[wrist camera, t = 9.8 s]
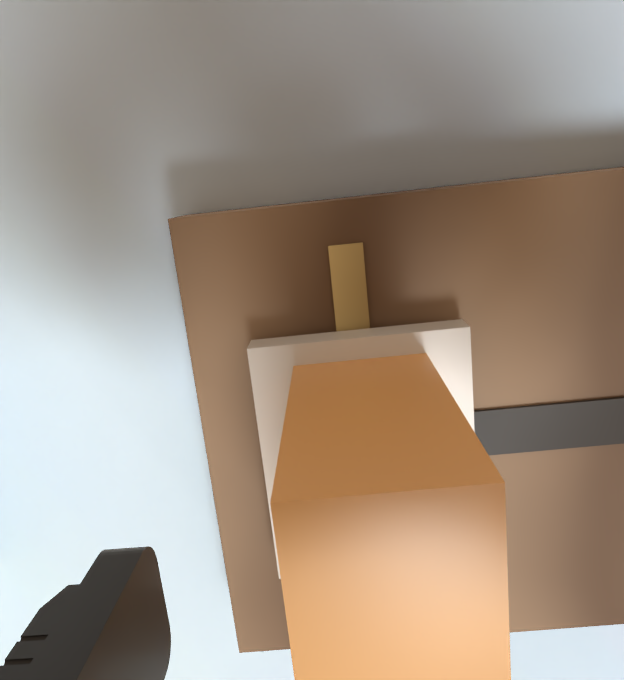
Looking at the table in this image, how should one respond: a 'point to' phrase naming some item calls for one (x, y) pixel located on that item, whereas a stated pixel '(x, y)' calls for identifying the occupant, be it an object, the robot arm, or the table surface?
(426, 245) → the fader board
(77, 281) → the table surface
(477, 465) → the fader tab
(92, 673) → the robot arm
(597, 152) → the table surface
